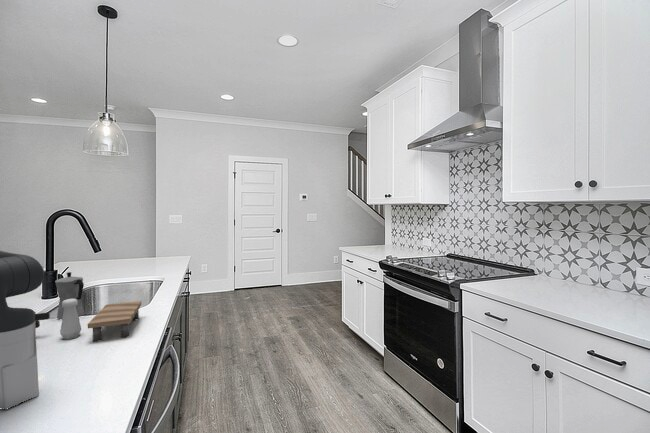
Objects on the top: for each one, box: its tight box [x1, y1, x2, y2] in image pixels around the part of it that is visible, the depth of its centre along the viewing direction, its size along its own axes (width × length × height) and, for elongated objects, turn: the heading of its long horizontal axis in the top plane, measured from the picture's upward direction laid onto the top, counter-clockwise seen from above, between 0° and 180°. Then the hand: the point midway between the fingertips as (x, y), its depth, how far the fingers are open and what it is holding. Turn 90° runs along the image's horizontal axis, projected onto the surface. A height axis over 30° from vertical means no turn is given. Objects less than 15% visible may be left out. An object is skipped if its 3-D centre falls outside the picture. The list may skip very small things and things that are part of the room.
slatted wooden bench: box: [87, 300, 142, 343], centre depth 119 cm, size 22×12×6 cm, turn 21°
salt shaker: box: [59, 299, 82, 340], centre depth 112 cm, size 6×6×13 cm
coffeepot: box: [55, 271, 85, 320], centre depth 133 cm, size 15×9×18 cm, turn 66°
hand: (44, 319), depth 109 cm, fingers open, 8 cm apart
